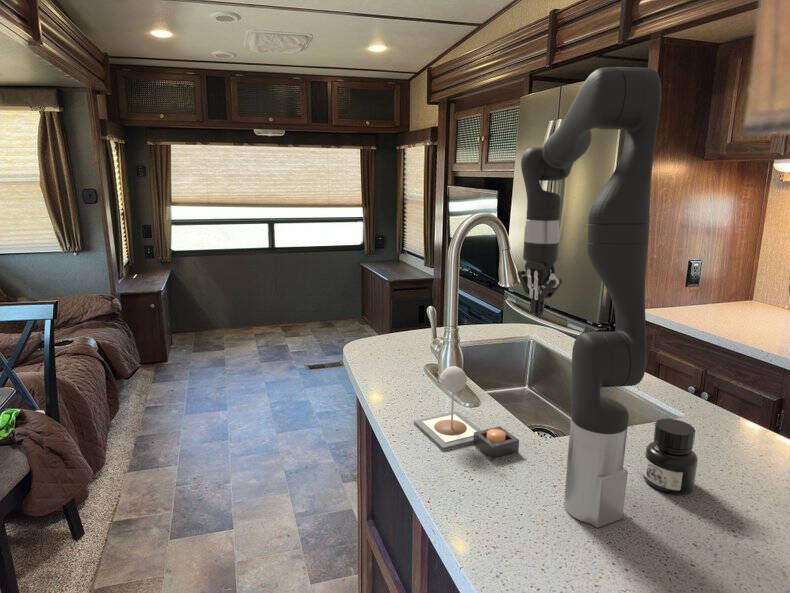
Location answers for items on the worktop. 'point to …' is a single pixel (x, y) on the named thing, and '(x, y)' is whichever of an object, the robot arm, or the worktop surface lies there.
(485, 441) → the button housing
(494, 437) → the button
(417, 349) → the worktop surface
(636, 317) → the robot arm
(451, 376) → the lollipop
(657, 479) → the ink bottle
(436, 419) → the board
